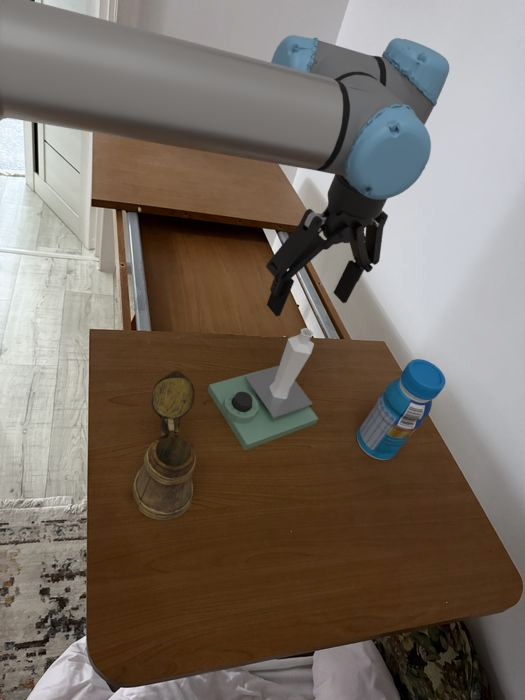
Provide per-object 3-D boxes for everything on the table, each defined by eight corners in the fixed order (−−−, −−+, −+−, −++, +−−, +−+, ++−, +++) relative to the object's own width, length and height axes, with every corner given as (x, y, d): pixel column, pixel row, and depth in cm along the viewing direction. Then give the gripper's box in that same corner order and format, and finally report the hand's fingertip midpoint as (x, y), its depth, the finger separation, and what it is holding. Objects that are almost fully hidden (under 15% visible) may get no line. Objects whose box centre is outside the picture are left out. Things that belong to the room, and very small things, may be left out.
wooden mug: (185, 442, 84) (207, 369, 72) (195, 518, 75) (222, 450, 63) (130, 442, 81) (143, 367, 69) (133, 522, 72) (149, 451, 60)
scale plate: (272, 419, 88) (273, 417, 87) (244, 378, 93) (245, 376, 93) (311, 406, 93) (313, 404, 92) (282, 367, 98) (283, 365, 97)
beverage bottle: (346, 439, 94) (394, 367, 81) (368, 417, 100) (417, 347, 86) (382, 470, 91) (438, 401, 78) (403, 446, 97) (459, 378, 84)
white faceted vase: (290, 383, 94) (318, 325, 84) (292, 401, 91) (321, 343, 81) (267, 379, 94) (292, 320, 84) (267, 397, 90) (294, 338, 80)
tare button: (238, 414, 87) (240, 407, 86) (229, 400, 89) (231, 394, 87) (253, 409, 89) (256, 402, 88) (244, 395, 90) (246, 389, 89)
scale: (242, 451, 86) (247, 439, 83) (204, 391, 93) (208, 378, 90) (315, 424, 95) (322, 412, 92) (276, 371, 102) (281, 359, 99)
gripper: (306, 197, 56) (254, 333, 70) (444, 192, 70) (377, 307, 84) (271, 163, 60) (228, 299, 74) (408, 165, 74) (350, 279, 88)
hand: (307, 303), depth 79 cm, fingers open, 13 cm apart
